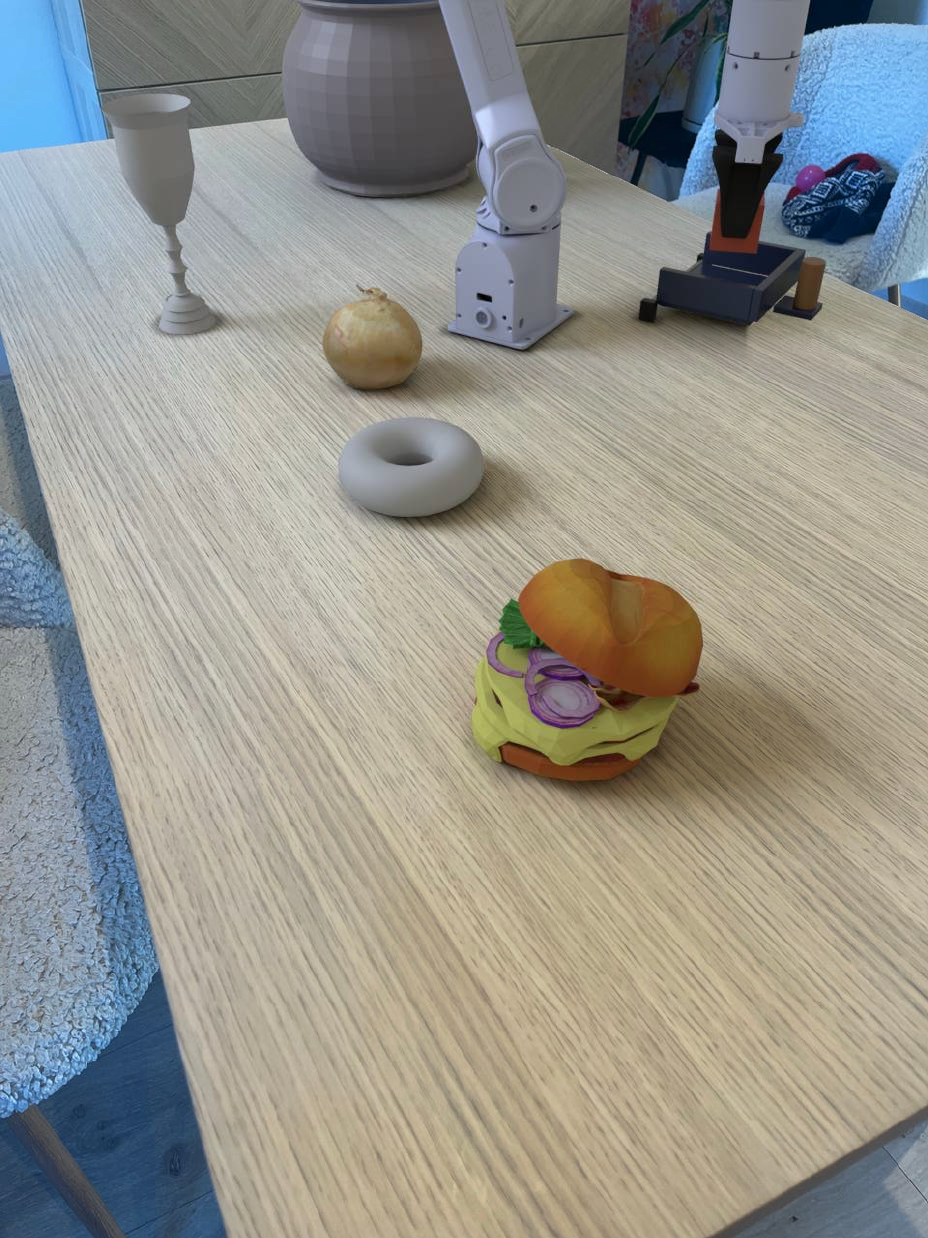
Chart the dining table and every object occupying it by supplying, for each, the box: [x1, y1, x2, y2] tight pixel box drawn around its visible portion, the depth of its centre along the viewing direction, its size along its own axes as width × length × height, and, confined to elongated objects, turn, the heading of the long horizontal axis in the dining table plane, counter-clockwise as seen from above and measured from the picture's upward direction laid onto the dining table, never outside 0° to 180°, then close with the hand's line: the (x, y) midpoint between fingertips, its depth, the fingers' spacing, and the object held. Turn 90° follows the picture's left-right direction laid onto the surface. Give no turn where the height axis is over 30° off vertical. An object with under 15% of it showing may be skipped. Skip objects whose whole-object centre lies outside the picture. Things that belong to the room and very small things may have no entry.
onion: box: [321, 283, 423, 391], centre depth 80 cm, size 8×8×7 cm
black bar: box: [637, 252, 712, 323], centre depth 95 cm, size 14×1×2 cm, turn 148°
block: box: [709, 188, 766, 254], centre depth 88 cm, size 4×4×4 cm
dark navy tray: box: [651, 230, 827, 327], centre depth 91 cm, size 12×14×5 cm
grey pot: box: [281, 0, 478, 198], centre depth 119 cm, size 25×25×20 cm
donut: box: [337, 416, 486, 518], centre depth 69 cm, size 10×4×10 cm
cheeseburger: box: [470, 557, 704, 782], centre depth 50 cm, size 10×11×10 cm
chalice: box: [101, 93, 217, 335], centre depth 86 cm, size 7×7×18 cm
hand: (734, 228), depth 88 cm, fingers closed on block, 4 cm apart
